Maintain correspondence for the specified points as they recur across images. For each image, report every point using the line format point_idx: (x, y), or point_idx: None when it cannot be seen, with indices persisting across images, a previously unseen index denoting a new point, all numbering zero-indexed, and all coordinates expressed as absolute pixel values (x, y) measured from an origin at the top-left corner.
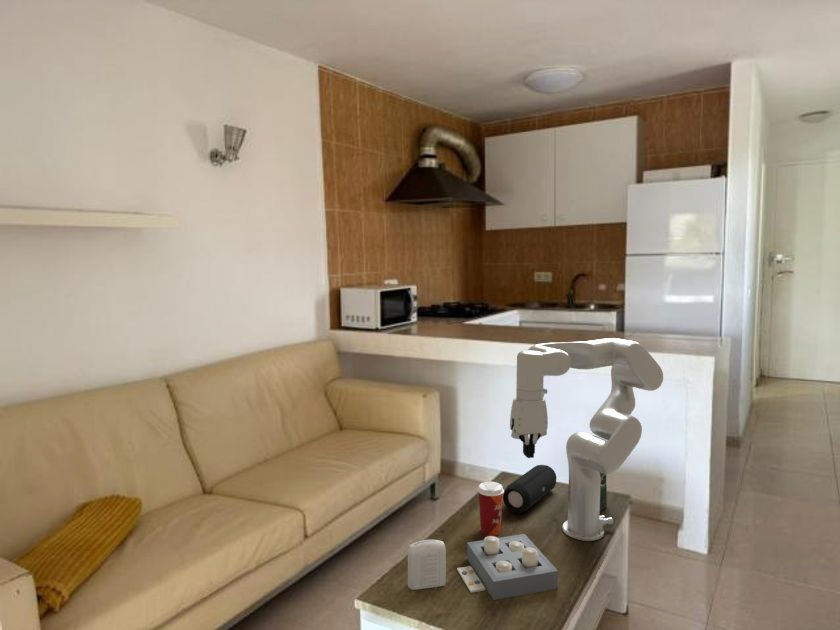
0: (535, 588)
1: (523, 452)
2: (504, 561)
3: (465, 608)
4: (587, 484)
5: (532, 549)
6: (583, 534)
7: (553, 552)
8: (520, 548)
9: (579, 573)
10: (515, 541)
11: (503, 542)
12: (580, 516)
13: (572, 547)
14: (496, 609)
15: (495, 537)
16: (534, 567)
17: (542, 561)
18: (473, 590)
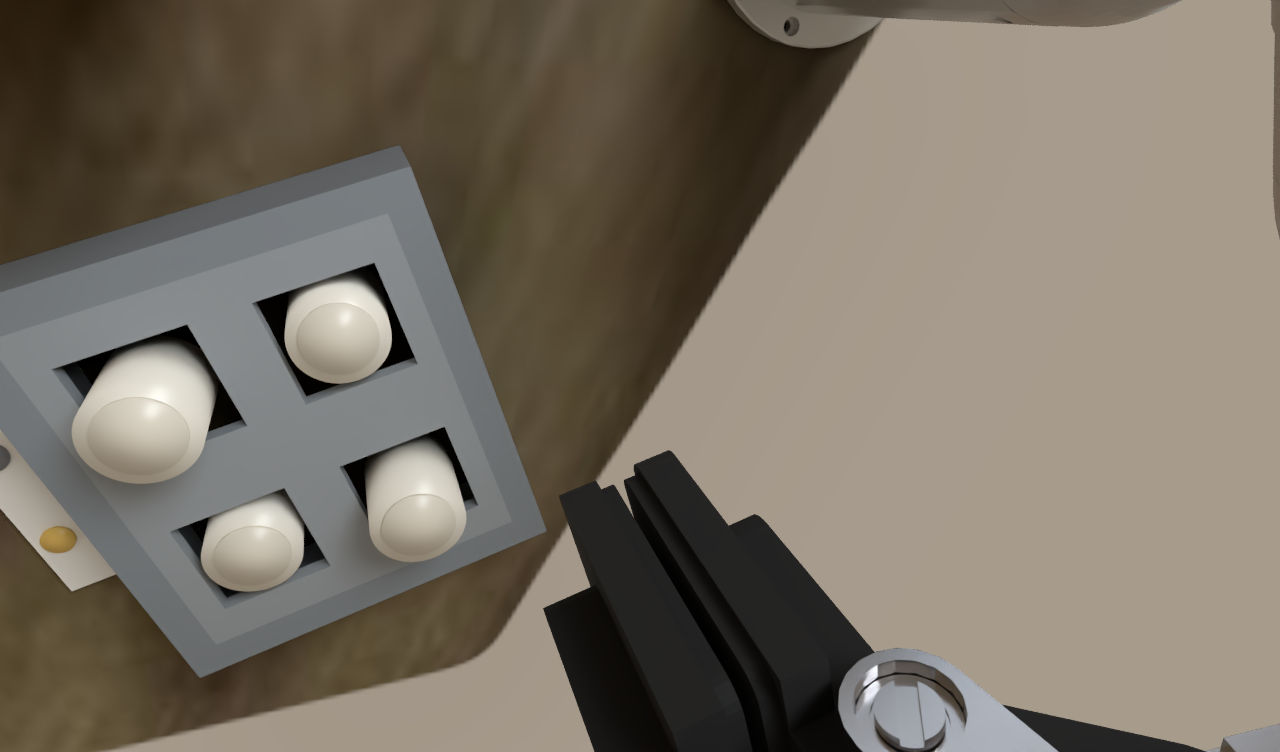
0: None
1: (551, 624)
2: (256, 530)
3: (68, 685)
4: (1088, 25)
5: (437, 509)
6: (798, 10)
7: (574, 171)
8: (365, 376)
9: (652, 357)
10: (334, 294)
11: (241, 295)
12: (850, 2)
13: (693, 113)
14: None
15: (169, 412)
16: None
17: (484, 470)
18: (87, 584)
